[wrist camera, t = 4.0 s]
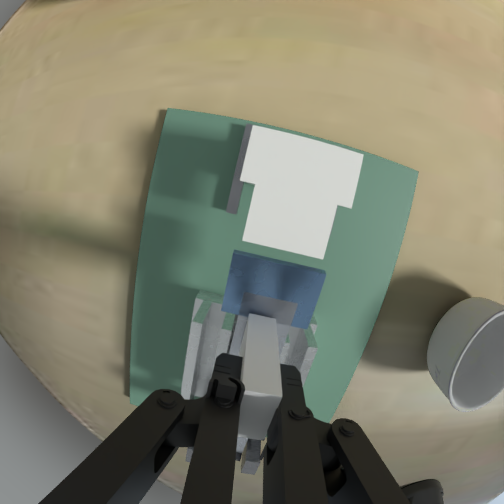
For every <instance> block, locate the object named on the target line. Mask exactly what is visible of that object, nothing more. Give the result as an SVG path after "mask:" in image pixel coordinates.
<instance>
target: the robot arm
mask: <svg viewBox="0 0 504 504" xmlns="http://www.w3.org/2000/svg"><path fill="white" fill-rule="evenodd" d="M301 380H302V379H301V374H300V372H299V371H298V369H297V368H296V367H295V366H291V365H286V364H280V359H279V347H278V336H277V324H276V319H275V318H270V317H265V316H260V315H256V314H251V313H249V316H248V320H247V324H246V328H245V332H244V336H243V340H242V344H241V347H240V351H239V356H236V355H231V354H227V353H221V354H220V355H219V356H217V357H216V361H215V365H214V369H213V373H212V377H211V379H210V381H209V385H208V389H207V393H206V394H205V395H204V396H203V397H201V398H198V399H191V400H189V399H184V398H183V397H182V395H181V394H179V393H178V392H176V391H173V390H170V389H159V390H155V391H154V392H152V393H151V394H150V395H149V396H148V397H147V398H146V399H145V400H144V401H143V402H142V403H141V404H140V405H139V406H138V407H137V408H136V409H135V410H134V411H133V412H132V413H131V414H130V415H129V416H128V417H127V418H126V419H125V420H124V421H123V422H122V423H121V424H120V425H119V426H118V427H117V428H116V429H115V430H114V431H113V432H112V433H111V434H110V435H109V436H108V437H107V438H106V439H105V440H104V441H103V442H102V443H101V444H100V445H99V446H98V447H97V448H96V449H95V450H94V451H93V452H92V453H91V454H90V455H89V456H88V457H87V458H86V459H85V460H84V461H83V462H82V463H81V464H80V465H79V466H78V467H77V468H76V469H75V470H73V471H72V472H71V473H70V474H69V475H68V476H67V477H66V478H65V479H64V480H63V481H62V482H61V483H60V484H59V485H58V486H57V487H56V488H54V489H53V490H52V492H50V493H49V494H48V495H47V496H46V497H45V498H44V499H43V500H42V501H41V502H39V503H38V504H139V502H140V501H141V500H142V498H143V497H144V496H145V494H146V493H147V492H148V490H149V489H150V487H151V486H152V485H153V483H154V482H155V481H156V479H157V478H158V476H159V475H160V474H161V472H162V471H163V470H164V468H165V467H166V465H167V464H168V462H169V461H170V460H171V458H172V457H173V455H174V454H175V453H176V451H177V450H178V448H179V447H194V448H193V453H192V457H191V461H190V465H189V469H188V474H187V478H186V482H185V486H184V491H183V495H182V499H181V504H231V500H232V490H233V480H234V469H235V459H236V448H237V438H238V437H244V438H250V439H256V440H263V441H264V439H265V437H266V435H267V443H266V445H265V447H264V449H263V451H262V454H261V456H260V459H259V460H262V459H263V457H264V466H263V504H444V503H443V488H442V486H441V484H440V482H439V481H437V480H426V481H422V482H418V483H415V484H412V485H410V486H407V487H405V488H402V489H401V488H400V487H399V485H398V484H397V482H396V480H395V479H394V477H393V476H392V474H391V473H390V471H389V470H388V468H387V467H386V465H385V464H384V462H383V461H382V459H381V458H380V456H379V454H378V453H377V451H376V450H375V448H374V447H373V445H372V444H371V442H370V441H369V439H368V438H367V436H366V435H365V433H364V431H363V430H362V428H361V427H360V426H359V425H358V424H357V423H356V422H354V421H352V420H349V419H343V418H340V419H337V420H335V421H334V422H333V423H332V424H329V423H326V422H323V421H320V420H318V419H316V418H314V415H313V413H312V411H311V410H310V409H309V408H308V407H306V403H305V397H304V391H303V387H302V386H303V385H302V381H301Z"/></svg>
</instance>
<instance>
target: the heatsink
mask: <svg viewBox="0 0 504 504" xmlns="http://www.w3.org/2000/svg"><path fill="white" fill-rule="evenodd" d="M255 126H257V125H255ZM252 127H253V125H252V124H247V123H246V127H245V131H244V135H243V139H242V143H241V148H240V152H239V156H238V160H237V165H236V169H235V173H234V178H233V182H232V186H231V191H230V195H229V200H228V204H227V209H226V212H227V213H231V214H237V213H238V208H239V204H240V199H241V195H242V191H243V186H244V182H243V181H240V177H241V173H242V169H243V164H244V160H245V156H246V152H247V147H248V143H249V139H250V135H251V131H252ZM341 148H342V147H341ZM344 149H345V148H344ZM348 150H349V149H348ZM337 208H338V205H337ZM336 212H337V209H336ZM335 216H336V213H335ZM334 220H335V217H334ZM333 224H334V221H333ZM332 227H333V225H332ZM331 231H332V229H331ZM330 235H331V232H330ZM329 237H330V236H329ZM223 298H224V295H220V294H216V293H212V292H207V291H203V290H200V291H199V293H198V295H197V296H196V298H195V304H194V309H193V315H192V321H191V327H190V334H189V340H188V346H187V353H186V359H185V366H184V373H183V380H182V387H181V395H182V397H183V398H184V399H189V400H191V399H194V396H198V397H203V396H204V395H205V394H206V393H207V389H208V385H209V381H210V379H211V377H212V373H213V369H214V365H215V361H216V357H217V356H219V355H220V354H221V353H227V354H229V352H230V348H231V343H232V339H233V335H234V331H235V327H236V322H237V318H238V315H236V314H232V313H228V312H223V311H221V308H222V303H223ZM316 328H317V322H316V319H315V317H314V315H312V318H311V321H310V323H309V326H308V329H302V328H297V327H292V326H290V329H289V332H288V335H287V338H286V341H285V343H284V346H283V349H282V352H281V355H280V358H279V359H280V364H286V365H291V366H295V367H296V368H297V369H298V371H299V372H300V374H301V379H302V380H301V381H302V385H304V383H305V381H306V378H307V376H308V373H309V370H310V368H311V365H312V363H313V360H314V358H315V355H316V352H317V350H318V347H317V344H316V340H315V337H314V334H315V331H316ZM302 387H303V386H302ZM193 448H194V447H188V449H187V455H186V461H187V462H190V461H191V457H192V453H193ZM260 449H261V440H256V439H250V438H248V440H247V442H246V445H245V447H244V450H243V453H242V465H241V473H247V474H254V475H255V473H256V471H257V468H258V466H259V464H260V460H259V459H260Z"/></svg>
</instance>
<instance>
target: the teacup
mask: <svg viewBox="0 0 504 504" xmlns="http://www.w3.org/2000/svg"><path fill="white" fill-rule="evenodd" d="M427 365H428V369H429V372H430V375H431V377H432V378H433V380H434V381H435V383H436V384H437V386H438V387H439V388H440V390H441V391H442V392H443V393H444V394H445V396H446V397H447V398H448V399H449V401H450V403H451V405H452V406H453V407H454V408H455V409H456V410H458V411H462V412H469V411H473V410H477V409H479V408H481V407H483V406H485V405H486V404H488V403H489V402H490V401H492V400H493V399H494V398H495V397H496V396H497V395H498V394H499V393H500V392H501V391H502V390H503V389H504V306H503V305H501V304H499V303H497V302H494V301H492V300H489V299H486V298H480V297H474V298H468V299H465V300H463V301H461V302H459V303H457V304H456V305H454V306H453V307H452V308H451V309H449V310H448V311H447V312H446V313H445V315H444V316H443V317H442V318H441V320H440V321H439V322H438V324H437V326H436V327H435V329H434V331H433V333H432V336H431V338H430V341H429V345H428V350H427Z"/></svg>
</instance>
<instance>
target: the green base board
mask: <svg viewBox="0 0 504 504" xmlns="http://www.w3.org/2000/svg"><path fill="white" fill-rule="evenodd" d="M246 123H247V124H252V125H257V126H260V127H265V128H269V129H274V130H278V131H282V132H286V133H290V134H294V135H298V136H302V137H306V138H310V139H313V140H317V141H321V142H324V143H328V144H331V145H335V146H338V147H342V148H345V149H349V150H351V151H354V152H357V153H360V154H363V155H364V156H363V161H362V166H361V170H360V175H359V179H358V184H357V188H356V192H355V196H354V201H353V205H352V209H351V208H347V207H343V206H339V205H338V208H337V212H336V216H335V220H334V224H333V227H332V231H331V235H330V237H329V240H328V244H327V247H326V251H325V255H324V258H323V259H319V258H314V257H310V256H306V255H302V254H297V253H293V252H289V251H285V250H280V249H276V248H272V247H268V246H263V245H259V244H255V243H250V242H246V241H242V239H243V235H244V230H245V226H246V221H247V217H248V213H249V208H250V204H251V200H252V195H253V191H254V187H255V185H253V184H248V183H245V182H244V186H243V191H242V195H241V199H240V204H239V208H238V213H237V214H231V213H227V212H226V209H227V204H228V200H229V195H230V191H231V186H232V182H233V178H234V173H235V169H236V165H237V160H238V156H239V152H240V148H241V143H242V139H243V135H244V131H245V127H246ZM417 177H418V171H416V170H413V169H411V168H408V167H406V166H403V165H401V164H398V163H395V162H393V161H390V160H387V159H384V158H382V157H379V156H376V155H373V154H370V153H367V152H364V151H361V150H358V149H355V148H352V147H349V146H346V145H342V144H339V143H336V142H332V141H329V140H326V139H322V138H319V137H315V136H311V135H308V134H304V133H300V132H296V131H292V130H288V129H284V128H280V127H275V126H271V125H266V124H262V123H257V122H252V121H247V120H242V119H237V118H232V117H226V116H220V115H214V114H208V113H202V112H195V111H188V110H180V109H172V108H168V109H167V113H166V117H165V120H164V124H163V128H162V132H161V136H160V140H159V145H158V149H157V153H156V158H155V162H154V167H153V172H152V177H151V182H150V187H149V192H148V197H147V203H146V209H145V215H144V221H143V227H142V234H141V241H140V248H139V255H138V263H137V272H136V281H135V291H134V302H133V315H132V331H131V351H130V403H131V404H134V405H136V406H139V405H140V404H141V403H142V402H143V401H144V400H145V399H146V398H147V397H148V396H149V395H150V394H151V393H152V392H154V391H155V390H159V389H170V390H173V391H176V392H178V393H179V394H181V387H182V380H183V373H184V366H185V359H186V353H187V346H188V340H189V334H190V327H191V321H192V315H193V309H194V304H195V298H196V296H197V295H198V293H199V291H200V290H203V291H207V292H212V293H216V294H220V295H224V294H225V289H226V284H227V279H228V274H229V270H230V265H231V260H232V255H233V252H234V249H235V250H239V251H244V252H248V253H252V254H257V255H261V256H265V257H270V258H274V259H278V260H283V261H287V262H291V263H296V264H300V265H304V266H309V267H313V268H317V269H321V270H325V272H326V274H327V275H326V278H325V281H324V284H323V287H322V290H321V293H320V295H319V298H318V301H317V304H316V307H315V310H314V312H313V315H314V317H315V319H316V322H317V328H316V331H315V334H314V337H315V340H316V344H317V347H318V350H317V352H316V355H315V358H314V360H313V363H312V365H311V368H310V370H309V373H308V376H307V378H306V381H305V383H304V385H303V391H304V397H305V403H306V407H308V408H309V409H310V410H311V411H312V413H313V415H314V418H316V419H318V420H320V421H323V422H326V423H329V422H330V420H331V418H332V416H333V415H334V413H335V411H336V409H337V407H338V405H339V403H340V401H341V399H342V397H343V395H344V393H345V391H346V389H347V387H348V385H349V383H350V380H351V378H352V376H353V374H354V372H355V370H356V367H357V365H358V363H359V361H360V358H361V356H362V354H363V351H364V349H365V347H366V344H367V342H368V339H369V337H370V335H371V332H372V330H373V327H374V324H375V322H376V319H377V317H378V314H379V311H380V309H381V306H382V303H383V300H384V297H385V295H386V292H387V289H388V286H389V283H390V280H391V277H392V274H393V271H394V267H395V264H396V261H397V258H398V254H399V251H400V247H401V244H402V240H403V237H404V233H405V229H406V225H407V222H408V218H409V214H410V209H411V205H412V201H413V196H414V192H415V187H416V182H417ZM198 398H201V397H198V396H194V399H198ZM266 437H267V435H266Z"/></svg>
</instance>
